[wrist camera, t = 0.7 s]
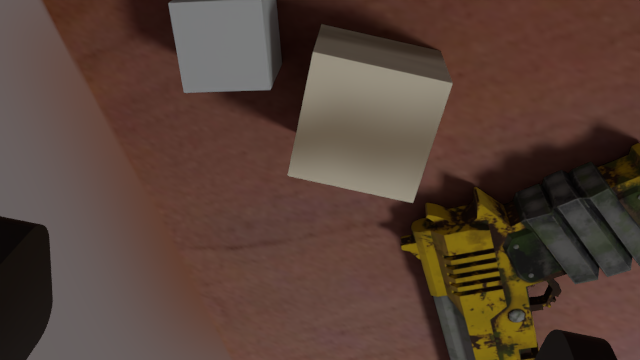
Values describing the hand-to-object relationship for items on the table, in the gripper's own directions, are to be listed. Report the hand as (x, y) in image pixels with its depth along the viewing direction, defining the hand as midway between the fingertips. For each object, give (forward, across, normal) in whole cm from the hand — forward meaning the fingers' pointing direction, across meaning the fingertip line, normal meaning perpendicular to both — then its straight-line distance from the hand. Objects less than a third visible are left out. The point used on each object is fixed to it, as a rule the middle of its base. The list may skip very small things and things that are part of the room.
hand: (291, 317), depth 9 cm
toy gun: (+22, -16, +16) cm, 31 cm away
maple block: (+22, -2, +4) cm, 22 cm away
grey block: (+22, +5, +2) cm, 22 cm away
